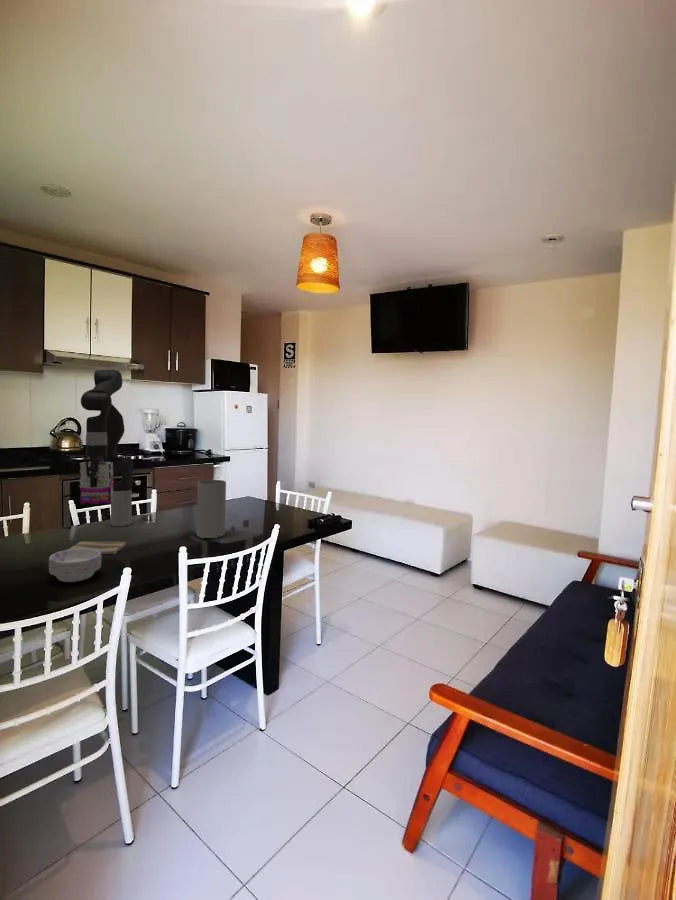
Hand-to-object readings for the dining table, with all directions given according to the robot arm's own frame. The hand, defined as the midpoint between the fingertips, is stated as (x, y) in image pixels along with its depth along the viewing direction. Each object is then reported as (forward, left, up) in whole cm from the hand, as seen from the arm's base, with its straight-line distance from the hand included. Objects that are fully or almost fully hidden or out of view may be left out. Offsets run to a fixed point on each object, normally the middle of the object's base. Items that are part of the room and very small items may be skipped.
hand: (96, 485), depth 178 cm
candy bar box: (0, 0, -7) cm, 7 cm away
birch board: (0, 0, -26) cm, 26 cm away
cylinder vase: (-22, +41, -26) cm, 53 cm away
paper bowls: (+31, +6, -26) cm, 41 cm away
